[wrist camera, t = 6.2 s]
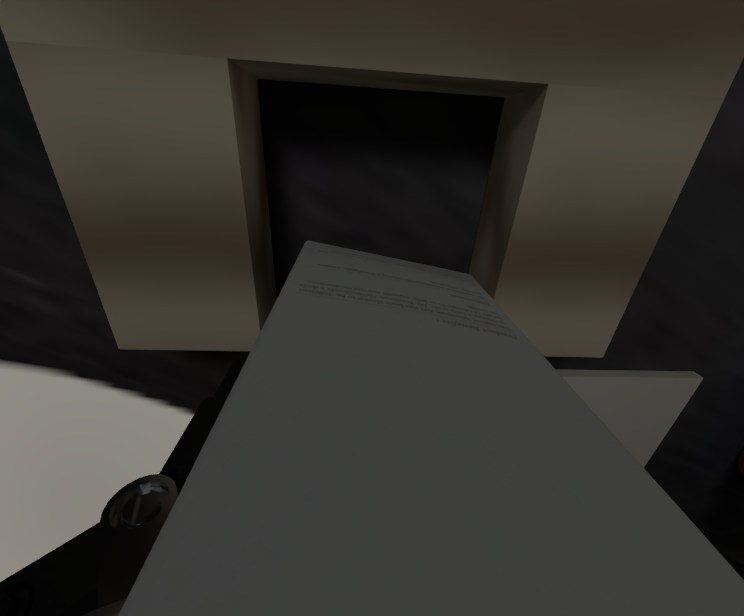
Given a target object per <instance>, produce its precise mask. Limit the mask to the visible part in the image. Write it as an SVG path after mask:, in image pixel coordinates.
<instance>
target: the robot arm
mask: <svg viewBox="0 0 744 616" xmlns="http://www.w3.org/2000/svg"><path fill="white" fill-rule="evenodd" d="M246 360H247V358H241V357H237V358H235V360H234V361H233V363H232V365H231V367H230V369H229V370H228V372H227V374H226V376H225V378H224V379H223V381H222V383H221V385H220V387H219V388H218V390H217V392H216V394H215V396H214V397H213V398H211V397H207V398H205V399H204V400H203V401H202V403H201V404H200V406H199V408H198V409H197V411H196V413H195V414H194V416H193V418H192V419H191V421H190V423H189V424H188V426H187V428H186V430H185V431H184V433H183V435H182V436H181V438H180V440H179V442H178V443H177V445H176V446H175V448H174V450H173V452H172V453H171V455H170V457H169V458H168V460H167V462H166V463H165V465H164V467H163V468H162V470H161V472H160V474H157V475H148V476H145V477H142V478H138V479H137V480H135V481H133V482H131V483H129V484H127V485H126V486H124V487H123V488H122V489H121V490H119V491H118V492H117V493H116V494H115V495H114V496H113V497H112V498H111V499H110V500H109V501H108V503H107V505H106V507H105V508H104V510H103V512H102V516H101V520H100V522H99V523H98V524H96V525H94V526H93V527H91V528H89V529H88V530H86V531H84V532H83V533H81V534H79V535H78V536H76V537H75V538H73V539H71V540H70V541H68V542H66V543H65V544H63V545H61V546H60V547H58V548H56V549H55V550H53V551H52V552H50V553H48V554H46V555H45V556H43V557H41V558H40V559H38V560H36V561H35V562H33V563H31V564H30V565H28V566H26V567H25V568H23V569H21V570H20V571H18V572H16V573H15V574H13V575H11V576H10V577H8V578H6V579H5V580H3V581H1V582H0V616H118V615H119V613H120V611H121V609H122V607H123V605H124V603H125V601H126V599H127V597H128V595H129V593H130V591H131V589H132V587H133V585H134V583H135V581H136V579H137V577H138V575H139V573H140V571H141V569H142V567H143V565H144V563H145V561H146V559H147V557H148V555H149V553H150V551H151V549H152V547H153V545H154V543H155V541H156V539H157V537H158V535H159V533H160V531H161V529H162V527H163V525H164V523H165V521H166V519H167V517H168V515H169V513H170V511H171V509H172V507H173V505H174V504H175V502H176V500H177V498H178V496H179V494H180V492H181V490H182V488H183V486H184V484H185V482H186V480H187V478H188V476H189V474H190V472H191V470H192V468H193V466H194V463H195V461H196V459H197V457H198V455H199V453H200V451H201V449H202V447H203V445H204V443H205V441H206V439H207V437H208V436H209V434H210V432H211V430H212V428H213V426H214V424H215V422H216V420H217V418H218V416H219V414H220V412H221V410H222V408H223V406H224V404H225V402H226V400H227V398H228V396H229V394H230V392H231V390H232V388H233V386H234V384H235V382H236V380H237V378H238V376H239V374H240V372H241V370H242V368H243V366H244V364H245V362H246ZM717 551H718V550H717ZM718 552H719V553H720V554H721V555H722V556H723V557H724V558H725V560H726V561H727V562H728V563H729V564H730V565H731V566H732V567H733V569H734V570H735V571H736V572H737V573H738V574H739V575H740V576H741V577H742V579H743V580H744V565H743V564H741V563H739V562H737V561H736V560H734V559H732V558H731V557H729V556H727V555H725V554H724V553H722V552H720V551H718Z"/></svg>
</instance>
